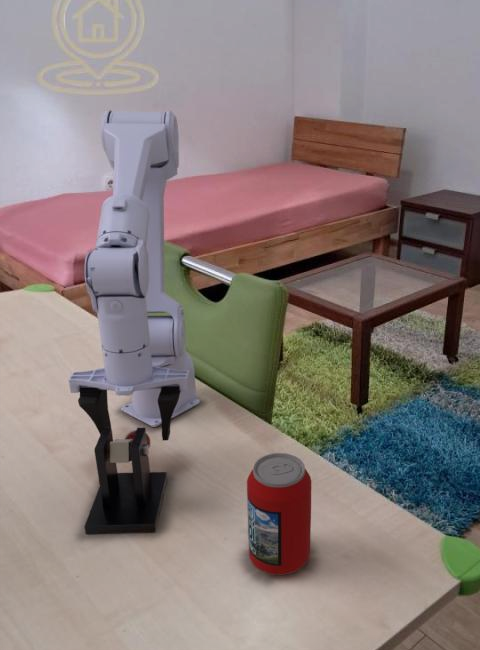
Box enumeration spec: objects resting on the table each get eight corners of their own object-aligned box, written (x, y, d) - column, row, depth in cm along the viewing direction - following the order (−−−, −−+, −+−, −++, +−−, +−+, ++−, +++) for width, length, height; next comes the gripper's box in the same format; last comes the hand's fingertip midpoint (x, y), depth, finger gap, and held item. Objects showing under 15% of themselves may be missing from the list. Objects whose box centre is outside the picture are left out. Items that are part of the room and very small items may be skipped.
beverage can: (240, 545, 72) (237, 457, 67) (295, 529, 74) (296, 443, 69) (261, 588, 66) (259, 495, 61) (320, 569, 68) (322, 478, 63)
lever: (126, 454, 84) (126, 429, 85) (152, 454, 84) (152, 428, 85) (104, 467, 73) (104, 437, 73) (134, 466, 73) (134, 437, 73)
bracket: (105, 480, 82) (96, 415, 78) (167, 479, 82) (161, 414, 78) (85, 534, 73) (73, 464, 69) (155, 532, 73) (148, 462, 69)
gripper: (55, 358, 73) (72, 455, 79) (182, 357, 74) (189, 453, 79) (72, 333, 79) (86, 424, 85) (188, 332, 80) (194, 423, 86)
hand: (136, 436), depth 83 cm, fingers open, 7 cm apart
